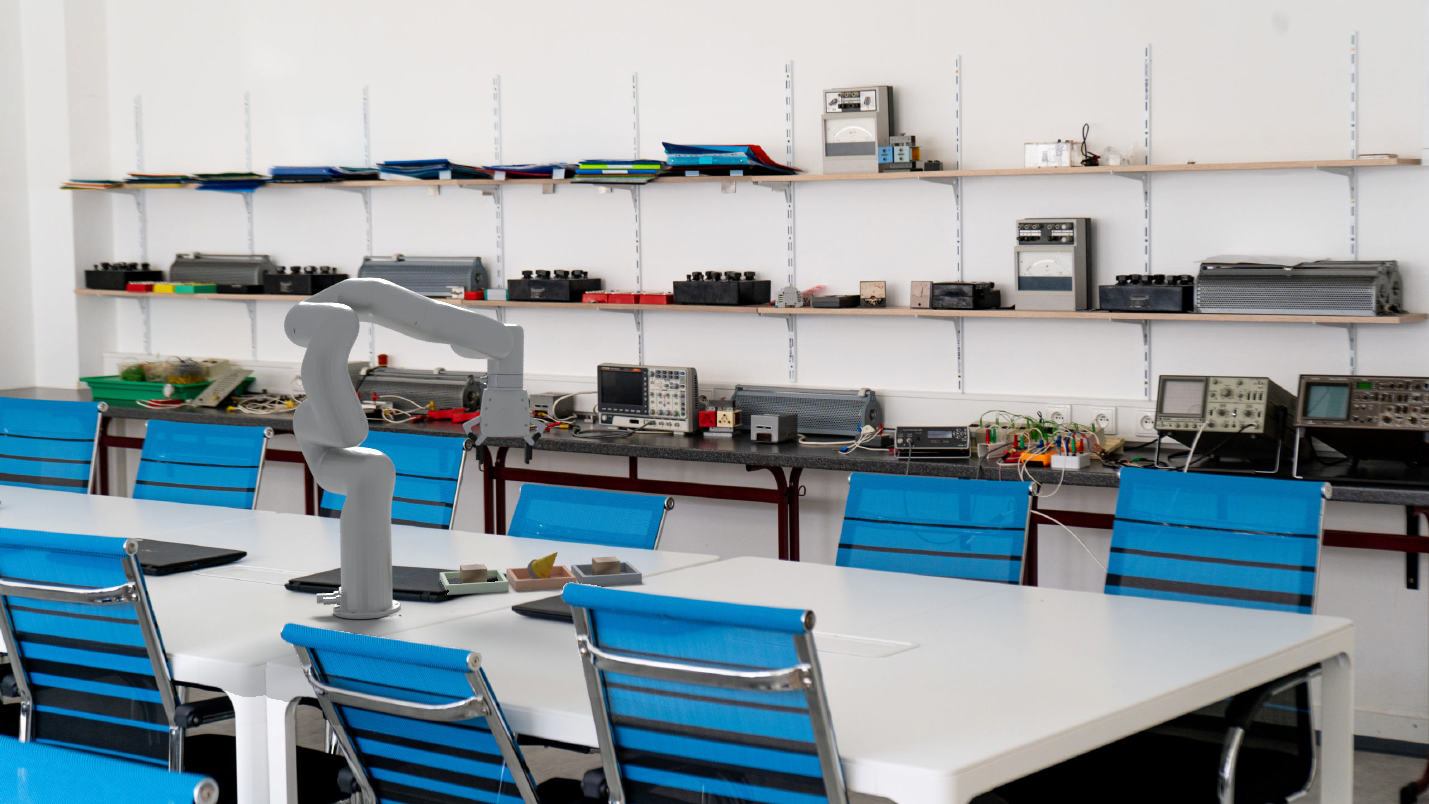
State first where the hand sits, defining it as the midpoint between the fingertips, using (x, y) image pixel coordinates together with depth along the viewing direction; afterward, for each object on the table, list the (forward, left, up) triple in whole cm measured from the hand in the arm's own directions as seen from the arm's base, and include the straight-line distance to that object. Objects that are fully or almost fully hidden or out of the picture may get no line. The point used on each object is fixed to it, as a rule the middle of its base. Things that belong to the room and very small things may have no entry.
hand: (504, 463), depth 278 cm
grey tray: (+21, -5, -25) cm, 33 cm away
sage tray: (-7, -5, -25) cm, 27 cm away
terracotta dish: (+7, -5, -25) cm, 27 cm away
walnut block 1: (-7, -5, -25) cm, 26 cm away
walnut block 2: (+21, -5, -25) cm, 33 cm away
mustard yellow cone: (+8, -5, -25) cm, 26 cm away
